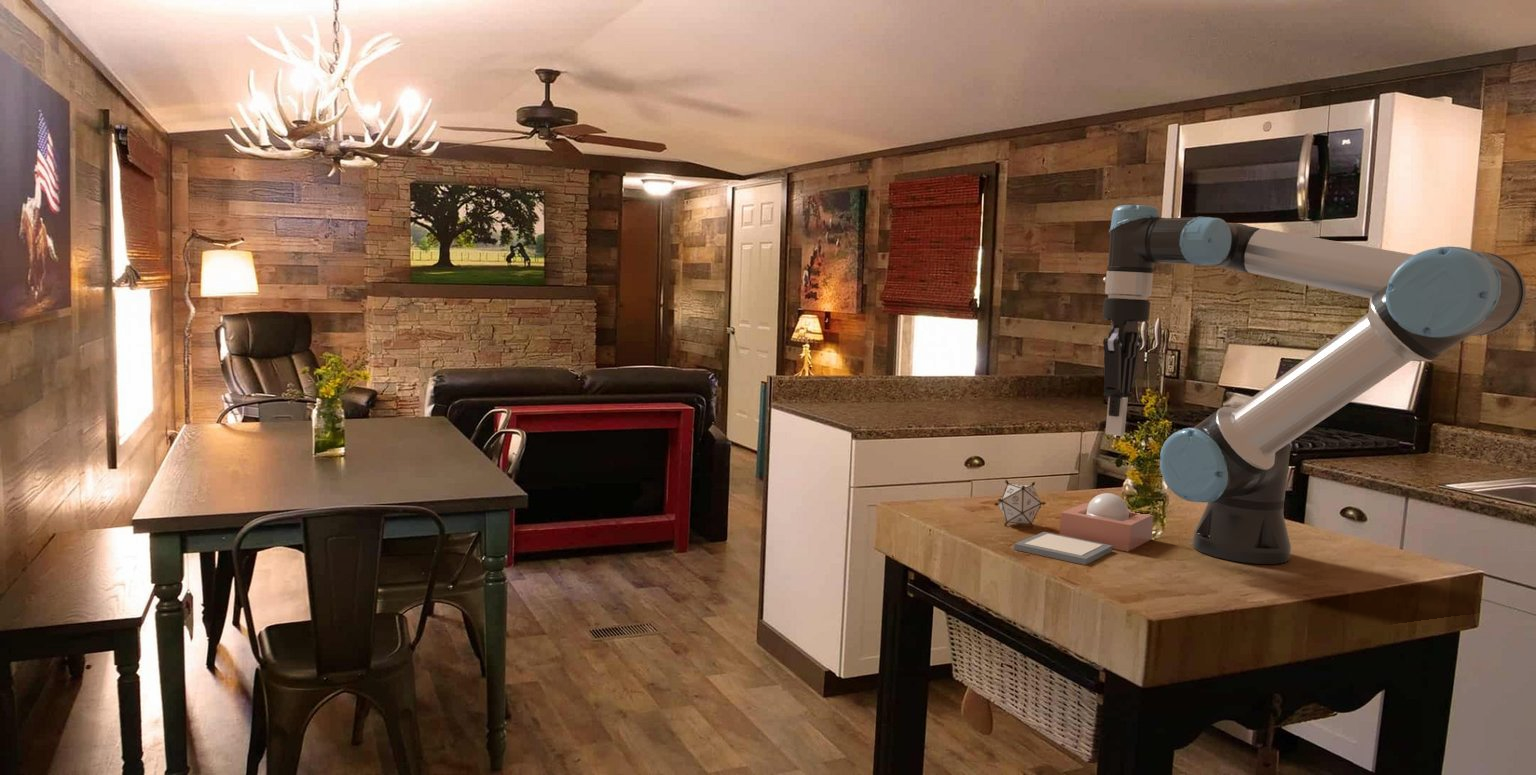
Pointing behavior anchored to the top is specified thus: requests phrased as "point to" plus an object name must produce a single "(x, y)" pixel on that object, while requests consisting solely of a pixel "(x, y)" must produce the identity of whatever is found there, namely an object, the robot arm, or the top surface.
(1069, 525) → the pink open box
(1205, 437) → the robot arm
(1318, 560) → the top surface
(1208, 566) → the top surface
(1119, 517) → the white ball
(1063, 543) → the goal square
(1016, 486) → the game die
